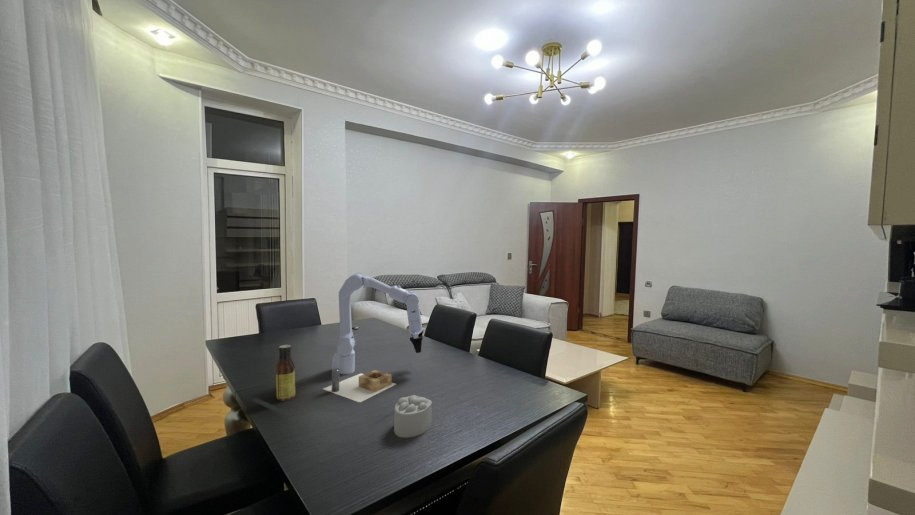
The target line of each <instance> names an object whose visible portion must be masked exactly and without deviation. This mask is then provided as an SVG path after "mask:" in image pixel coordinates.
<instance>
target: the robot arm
mask: <svg viewBox="0 0 915 515" xmlns="http://www.w3.org/2000/svg"><path fill="white" fill-rule="evenodd" d="M362 287H363V289H364V288H373V289H375V290H378V291H380V292H383V293H386V294H388V297H389V298H390V299H392V300H395V301H397V302H399V303H402V304H405V306H406V314H407V321H408V332H409V333H410V334H411V335H410V337H409V340H410V342H411V344H412V346H413V349H414V351H415V353H416V354H419V353H422V341H423V338H424V336H423V333H424V331H426V328H425V327H423V324H422V318H421V315H422V314H421V309H420V304H419V301H420V300H419V296H418V294H416V293H415V292H413V291H411V290H409V289H408V290H407V289H404V288H402V286H401V285H393V286H390V285H388V284H386V283H384V282H382V281H380V280H378V279H376V278H373V277H372V276H370V275H367V274H363V273H360V272H357V273H356V272H355V273H354V274H353V275H351V276H349V277H348V278H347V279H346V280H345V281H344V282H343V285H342V286H341V287H340V289H339V291H338V310H339V311H338V313H339V336H338V344H337V347H336V352H335V353H334V354H333V355H332V356H333V357H332V363H331V366H332V368H331V370H332V369H335V368H338V369H340V375H349V374H354V372H355V369H356V361H355V360H356V359H355V358H356V352H355V350H354V348H355V347H356V339H355V338H354V333H353V327H352V324H353V323H352V322H353V320H352V303H351V302H352V300H351V296H352V294H354V292H355V291H358V290H359V289H361V288H362ZM411 336H412V337H411Z"/></svg>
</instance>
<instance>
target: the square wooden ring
mask: <svg viewBox="0 0 915 515" xmlns="http://www.w3.org/2000/svg"><path fill="white" fill-rule="evenodd" d="M363 374H364V375H361V376H359V387H361V388H364V389H368V390H371V391H374V392H377V391H379V390H381V389H383V388H385V387H387V386H389V385H391V382H392V374H391V373H389V372H388V373H387V372H383V371H380V370H376V369H374V370H372V371H369V372H366V373H363Z"/></svg>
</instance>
